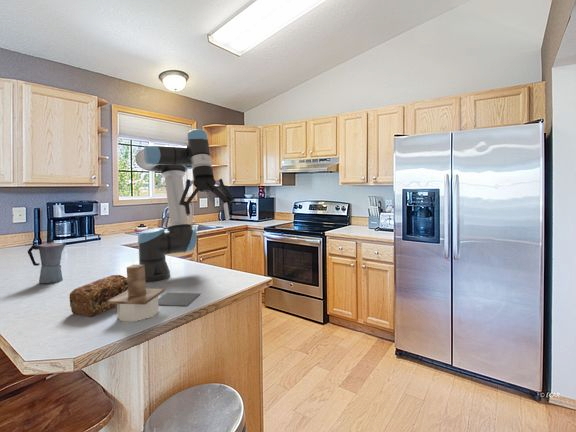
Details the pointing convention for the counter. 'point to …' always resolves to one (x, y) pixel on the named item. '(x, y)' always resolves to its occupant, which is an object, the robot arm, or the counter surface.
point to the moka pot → (49, 261)
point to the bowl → (137, 310)
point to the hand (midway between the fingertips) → (210, 221)
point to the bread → (97, 295)
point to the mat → (177, 299)
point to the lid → (136, 288)
